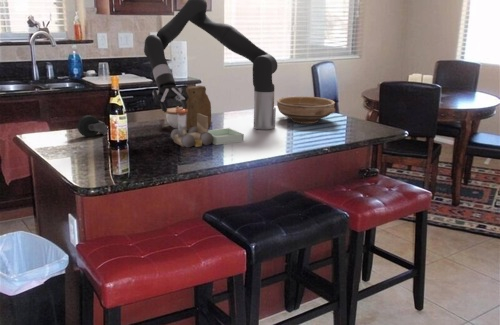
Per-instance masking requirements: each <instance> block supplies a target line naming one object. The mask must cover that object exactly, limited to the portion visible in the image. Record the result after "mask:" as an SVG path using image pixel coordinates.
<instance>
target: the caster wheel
mask: <svg viewBox="0 0 500 325" xmlns="http://www.w3.org/2000/svg"><path fill="white" fill-rule="evenodd" d="M107 127H108V126H107V125H106V123H105V121H104V122H103V121H102V120H99V119H98V118H97V117H95V116H93V115H90V114H86V115H84V116H81V118H79V120H78V122H77V130H78V133H79V134H80V135H82V136H83V137H85V138H93V137H96V136H97V134H99V133H100V134H99V135H101V134H103V135H104V136H106V135H107V133H108V132H109V129H108V128H107ZM103 135H102V136H103ZM92 136H93V137H92Z"/></svg>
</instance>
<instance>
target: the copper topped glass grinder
mask: <svg viewBox="0 0 500 325" xmlns="http://www.w3.org/2000/svg"><path fill="white" fill-rule="evenodd" d="M176 113H177V119H178V128H177V129H178V137H180V138H182V137H183V136H184V135H185V134H187V133H188V129H187V116H186V113H188V109H176Z"/></svg>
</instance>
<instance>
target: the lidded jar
mask: <svg viewBox="0 0 500 325" xmlns="http://www.w3.org/2000/svg"><path fill="white" fill-rule="evenodd" d="M176 109H183V107H179V105H178V106H176V107H172V108H167V112H165V114H166V116H165V117H166V120H167V123H168V124H169V125H170V127H171V128H173V129H178V119H177V113H176Z"/></svg>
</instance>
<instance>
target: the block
mask: <svg viewBox="0 0 500 325" xmlns="http://www.w3.org/2000/svg"><path fill="white" fill-rule="evenodd" d="M185 90H186V92H187V94H188V96H189V97H188V100H187V101H186V104H187V108H186V109H188V113H186V116H187V131H189V129H190V128H191V127H197V114H198V113H200V114H202V115H205V116H207V117H208V130H211V125H212V106H211V105H212V104H211V100H210V99H209V95H208V94H207V91H206V90H207V88H206V86H204V85H191V86H186V88H185Z"/></svg>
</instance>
